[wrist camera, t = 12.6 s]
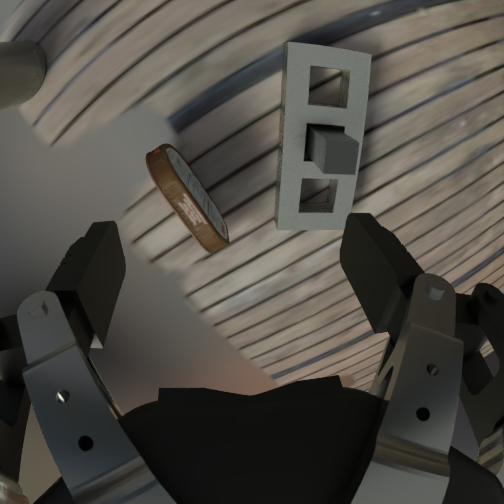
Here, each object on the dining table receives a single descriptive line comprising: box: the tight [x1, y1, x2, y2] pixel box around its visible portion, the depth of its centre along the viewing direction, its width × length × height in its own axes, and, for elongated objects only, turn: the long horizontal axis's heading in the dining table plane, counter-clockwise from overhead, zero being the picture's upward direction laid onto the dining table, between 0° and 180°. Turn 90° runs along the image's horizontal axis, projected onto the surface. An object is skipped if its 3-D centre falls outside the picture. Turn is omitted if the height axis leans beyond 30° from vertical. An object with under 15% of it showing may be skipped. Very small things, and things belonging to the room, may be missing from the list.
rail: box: [274, 42, 372, 230], centre depth 35 cm, size 10×24×3 cm, turn 178°
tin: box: [146, 144, 229, 254], centre depth 36 cm, size 15×3×8 cm, turn 29°
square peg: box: [304, 124, 359, 175], centre depth 33 cm, size 4×4×9 cm
